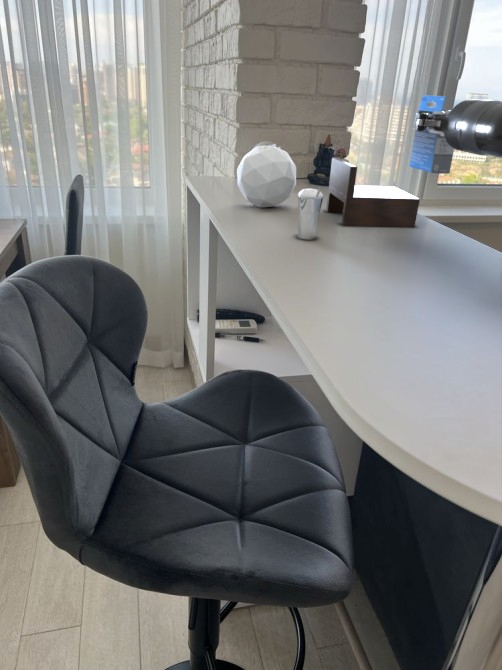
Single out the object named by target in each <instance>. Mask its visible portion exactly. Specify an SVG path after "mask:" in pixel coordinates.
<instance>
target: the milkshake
mask: <svg viewBox="0 0 502 670" xmlns="http://www.w3.org/2000/svg"><path fill="white" fill-rule="evenodd" d="M321 190H322V187H321V186H320V187H319V186H318V189H315V188H312V187H311V188H310V187H309V188H302V189H301V190H300V191H298V194H297V195H298V227H297V238H299V239H301V240H306V241H307V240H309V241H311V240H315V238H316V236H317V235H316V234H317V229H318V223H319V217H320V213H321V208H322V204H323V199H324V194H323V192H321Z"/></svg>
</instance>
